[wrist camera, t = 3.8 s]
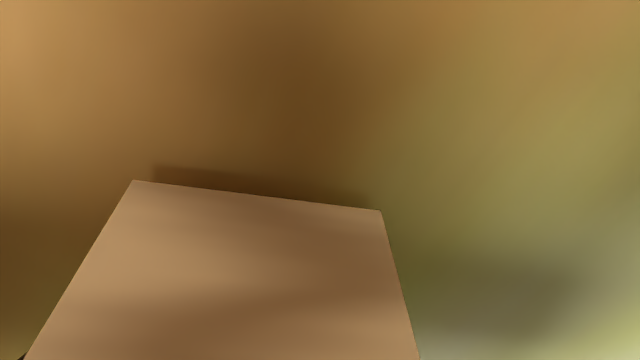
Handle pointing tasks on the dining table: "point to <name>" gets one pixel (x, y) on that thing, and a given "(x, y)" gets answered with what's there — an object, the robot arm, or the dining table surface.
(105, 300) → the birch cube
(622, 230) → the dining table surface
